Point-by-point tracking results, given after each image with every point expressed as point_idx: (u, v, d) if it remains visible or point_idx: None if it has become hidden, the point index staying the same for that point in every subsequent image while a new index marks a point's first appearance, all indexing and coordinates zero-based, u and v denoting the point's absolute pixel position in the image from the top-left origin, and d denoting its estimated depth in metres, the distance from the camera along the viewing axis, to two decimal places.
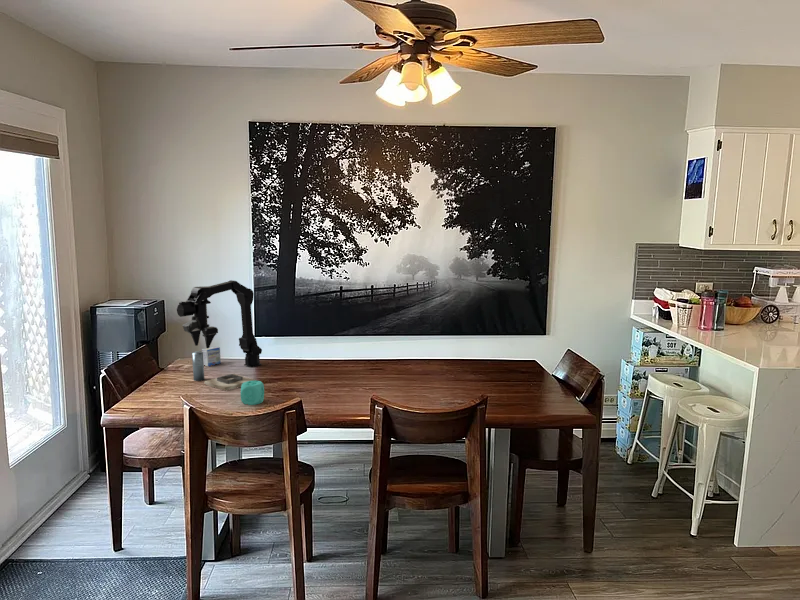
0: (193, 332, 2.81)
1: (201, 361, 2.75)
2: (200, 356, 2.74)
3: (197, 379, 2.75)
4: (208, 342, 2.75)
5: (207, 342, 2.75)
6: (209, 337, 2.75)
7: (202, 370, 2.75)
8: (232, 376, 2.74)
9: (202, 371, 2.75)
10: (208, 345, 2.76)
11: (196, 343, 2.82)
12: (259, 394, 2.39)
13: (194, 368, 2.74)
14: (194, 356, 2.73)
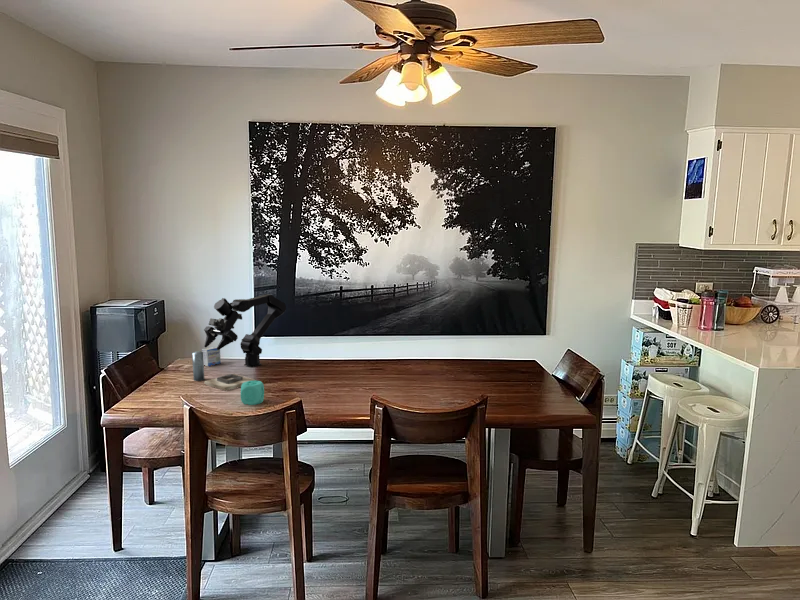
0: (210, 334, 2.86)
1: (201, 361, 2.75)
2: (200, 356, 2.74)
3: (197, 379, 2.75)
4: (221, 344, 2.79)
5: (221, 343, 2.79)
6: (225, 341, 2.81)
7: (202, 370, 2.75)
8: (232, 376, 2.74)
9: (202, 371, 2.75)
10: (219, 347, 2.79)
11: (206, 345, 2.84)
12: (259, 394, 2.39)
13: (194, 368, 2.74)
14: (194, 356, 2.73)
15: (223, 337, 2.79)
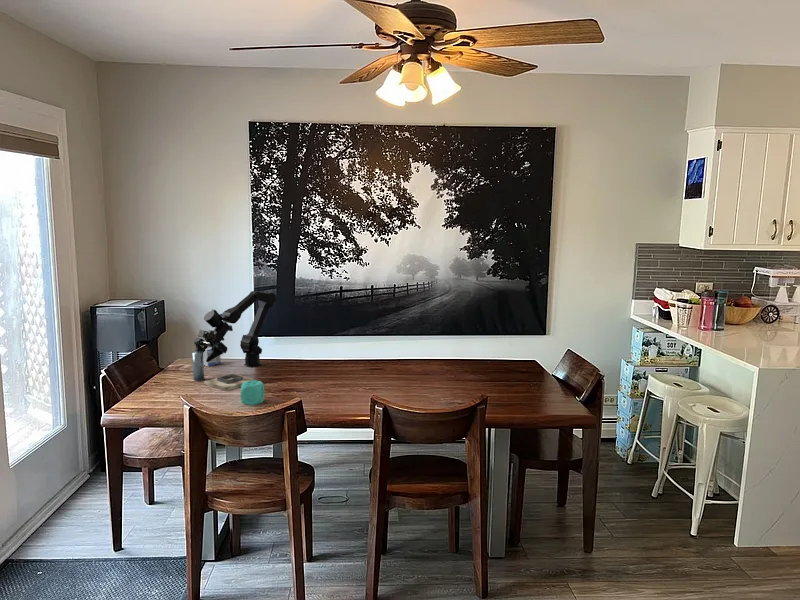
0: (199, 346, 2.82)
1: (201, 361, 2.75)
2: (200, 356, 2.74)
3: (197, 379, 2.75)
4: (211, 356, 2.75)
5: (210, 355, 2.75)
6: (215, 353, 2.76)
7: (202, 370, 2.75)
8: (232, 376, 2.74)
9: (202, 371, 2.75)
10: (209, 359, 2.75)
11: None
12: (259, 394, 2.39)
13: (194, 368, 2.74)
14: (194, 356, 2.73)
15: (212, 349, 2.75)
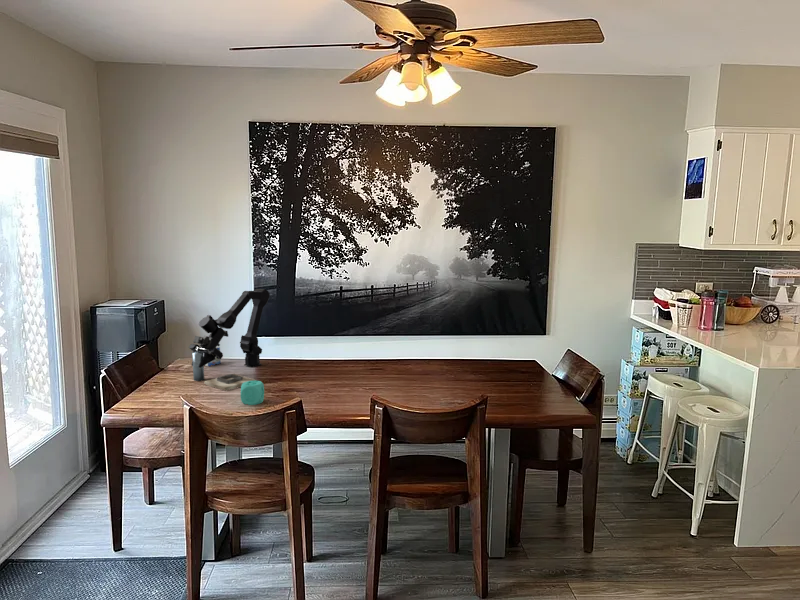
0: None
1: None
2: (200, 356, 2.74)
3: (197, 378, 2.75)
4: (203, 361, 2.74)
5: (203, 361, 2.74)
6: (207, 358, 2.76)
7: (202, 370, 2.75)
8: (232, 376, 2.74)
9: (202, 371, 2.75)
10: (201, 365, 2.74)
11: None
12: (259, 394, 2.39)
13: (194, 368, 2.74)
14: (194, 356, 2.73)
15: (205, 355, 2.74)
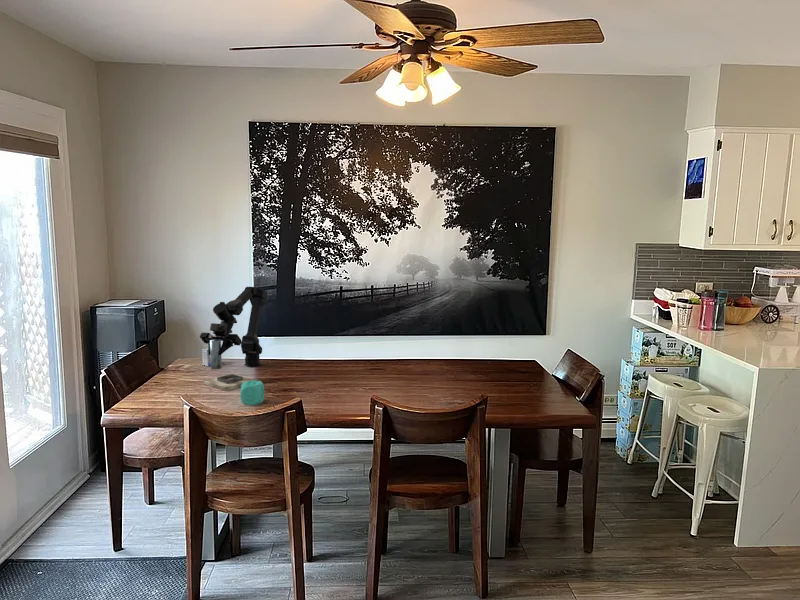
0: None
1: None
2: (219, 344, 2.68)
3: (216, 367, 2.68)
4: (223, 349, 2.69)
5: (222, 348, 2.69)
6: (225, 345, 2.71)
7: (221, 358, 2.70)
8: (232, 376, 2.74)
9: (221, 359, 2.70)
10: (221, 352, 2.68)
11: None
12: (259, 394, 2.39)
13: (213, 356, 2.67)
14: (214, 344, 2.67)
15: (224, 342, 2.69)
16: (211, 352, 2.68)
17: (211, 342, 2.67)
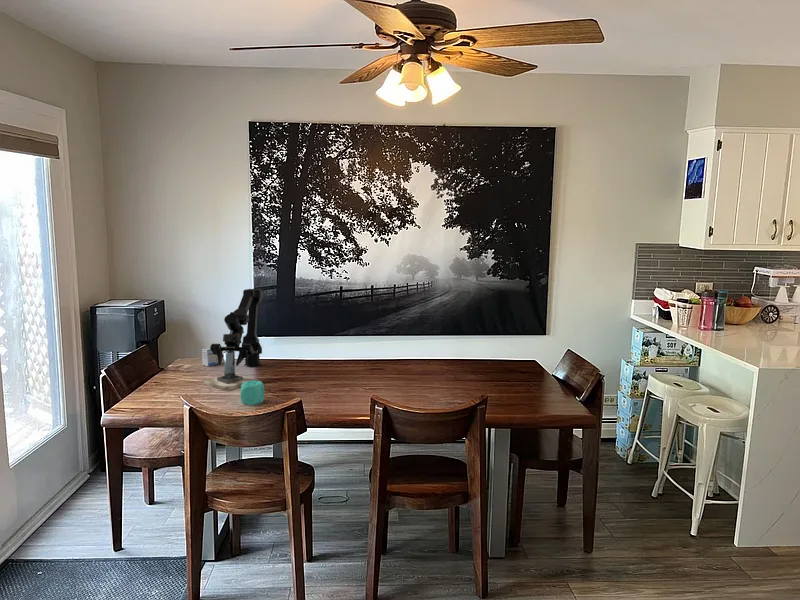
0: (220, 351, 2.71)
1: (234, 361, 2.69)
2: (234, 356, 2.68)
3: None
4: (239, 359, 2.69)
5: (239, 359, 2.68)
6: (241, 356, 2.71)
7: (234, 370, 2.70)
8: None
9: (234, 371, 2.70)
10: (238, 362, 2.68)
11: (220, 363, 2.68)
12: (259, 394, 2.39)
13: (228, 368, 2.67)
14: (229, 356, 2.66)
15: (241, 352, 2.69)
16: (226, 364, 2.67)
17: (226, 354, 2.66)
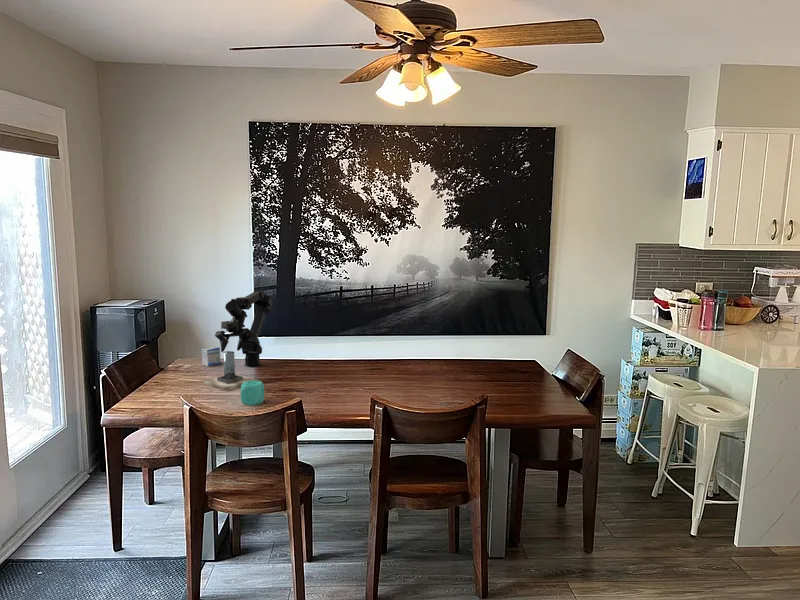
0: (223, 338, 2.82)
1: (234, 361, 2.69)
2: (233, 356, 2.68)
3: None
4: (240, 344, 2.77)
5: (240, 343, 2.76)
6: (243, 340, 2.78)
7: (234, 370, 2.70)
8: None
9: (234, 371, 2.70)
10: (239, 347, 2.76)
11: (222, 349, 2.80)
12: (259, 394, 2.39)
13: (228, 369, 2.67)
14: (229, 356, 2.66)
15: (240, 337, 2.77)
16: (225, 365, 2.67)
17: (226, 354, 2.66)
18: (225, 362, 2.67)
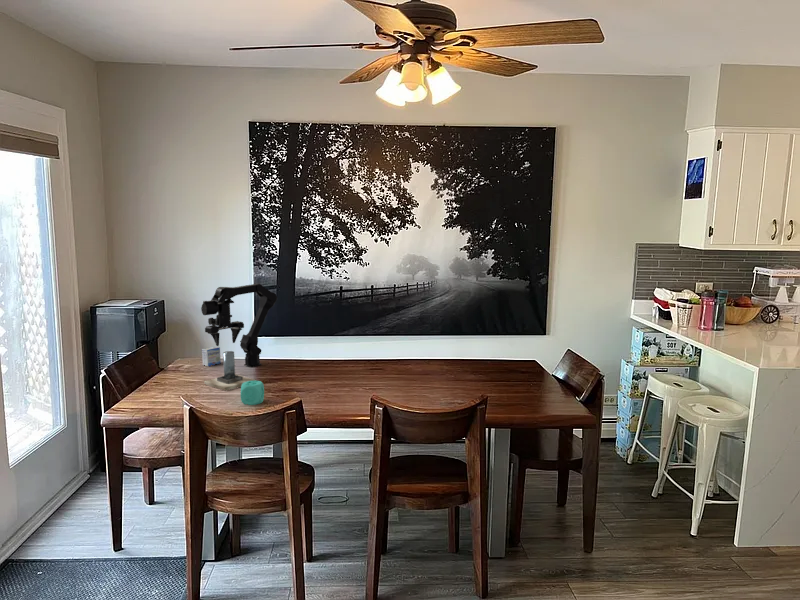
0: (232, 329, 2.95)
1: (234, 361, 2.69)
2: (233, 356, 2.68)
3: None
4: (215, 340, 2.87)
5: (214, 340, 2.87)
6: (215, 336, 2.86)
7: (234, 370, 2.70)
8: None
9: (234, 371, 2.70)
10: (216, 343, 2.87)
11: (233, 340, 2.95)
12: (259, 394, 2.39)
13: (228, 369, 2.67)
14: (229, 356, 2.66)
15: None
16: (225, 365, 2.67)
17: (225, 355, 2.66)
18: (225, 362, 2.67)
